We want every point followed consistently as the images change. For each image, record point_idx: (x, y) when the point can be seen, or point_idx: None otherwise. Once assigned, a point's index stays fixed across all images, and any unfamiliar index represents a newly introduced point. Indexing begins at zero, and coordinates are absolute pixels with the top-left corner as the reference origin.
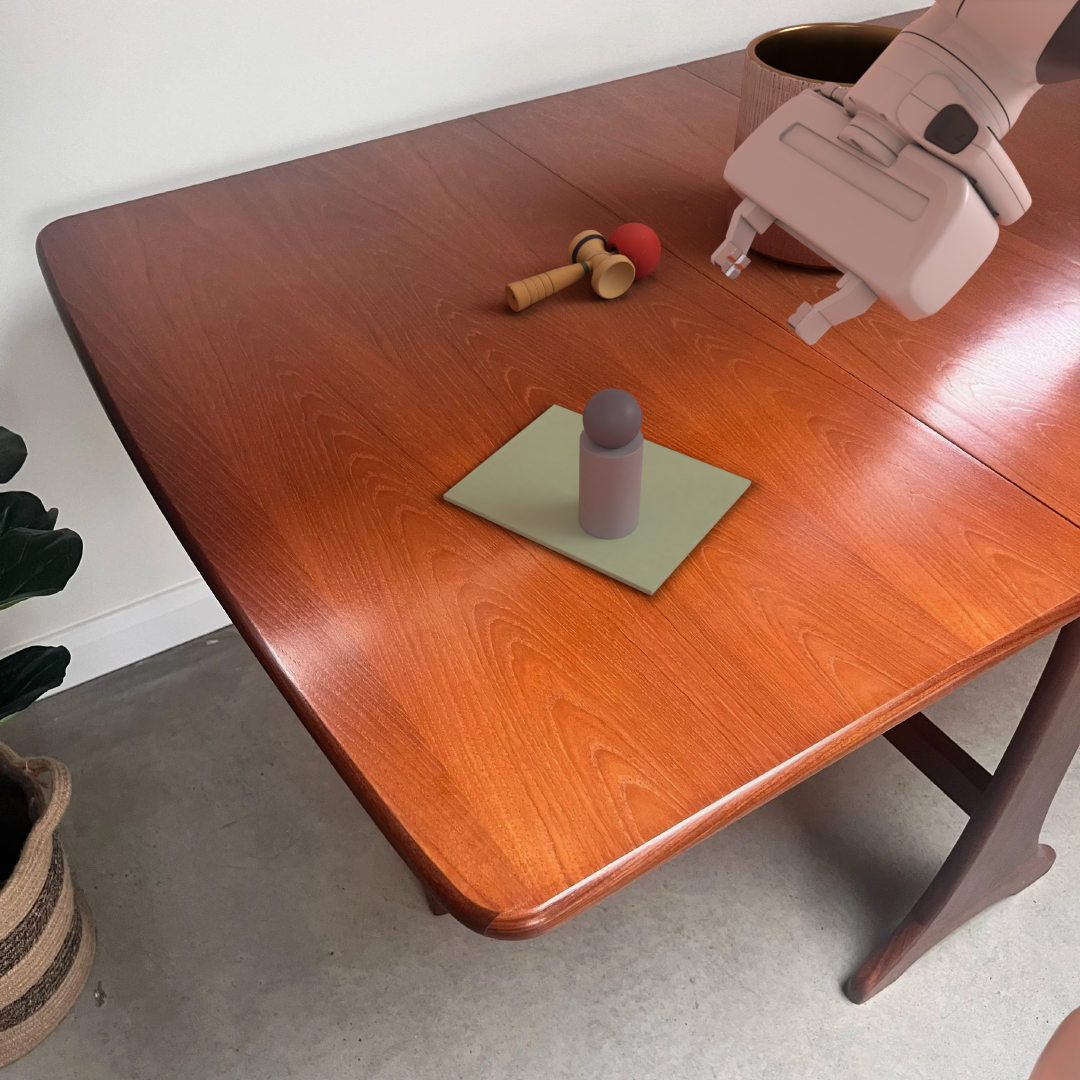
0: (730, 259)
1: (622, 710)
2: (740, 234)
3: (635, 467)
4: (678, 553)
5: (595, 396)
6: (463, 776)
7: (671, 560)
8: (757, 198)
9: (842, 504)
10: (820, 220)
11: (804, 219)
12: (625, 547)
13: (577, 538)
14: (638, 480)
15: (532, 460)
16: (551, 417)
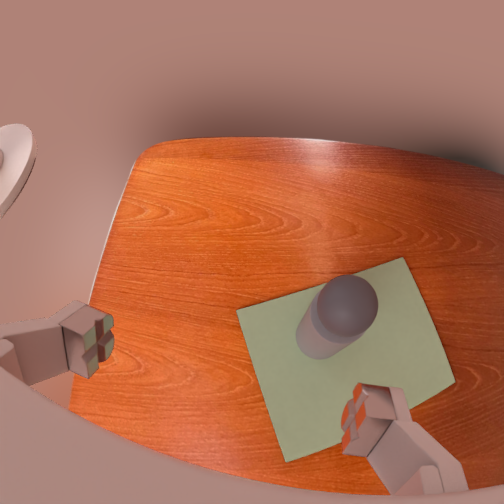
0: (361, 404)
1: (177, 236)
2: (402, 454)
3: (307, 324)
4: (254, 353)
5: (366, 284)
6: (204, 162)
7: (251, 343)
8: (428, 496)
9: None
10: (75, 468)
11: (151, 476)
12: (285, 325)
13: None
14: (306, 334)
15: (408, 329)
16: (444, 371)
